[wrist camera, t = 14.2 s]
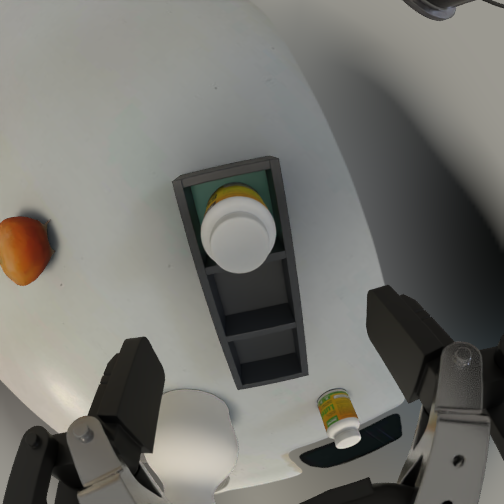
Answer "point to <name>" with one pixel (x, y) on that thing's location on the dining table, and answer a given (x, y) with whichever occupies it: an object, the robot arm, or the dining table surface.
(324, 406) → the supplement bottle
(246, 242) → the supplement bottle
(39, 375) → the dining table surface
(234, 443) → the vase
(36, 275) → the fruit
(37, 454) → the robot arm
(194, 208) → the rack
